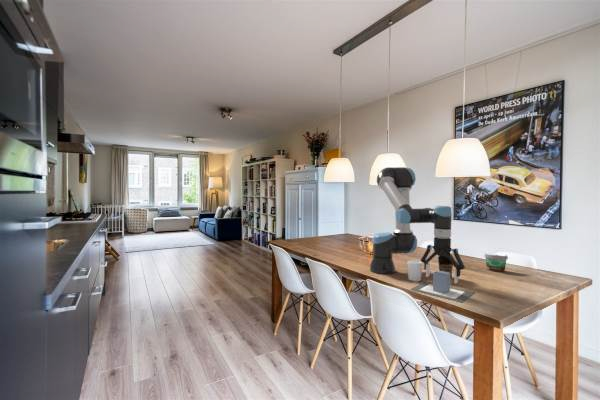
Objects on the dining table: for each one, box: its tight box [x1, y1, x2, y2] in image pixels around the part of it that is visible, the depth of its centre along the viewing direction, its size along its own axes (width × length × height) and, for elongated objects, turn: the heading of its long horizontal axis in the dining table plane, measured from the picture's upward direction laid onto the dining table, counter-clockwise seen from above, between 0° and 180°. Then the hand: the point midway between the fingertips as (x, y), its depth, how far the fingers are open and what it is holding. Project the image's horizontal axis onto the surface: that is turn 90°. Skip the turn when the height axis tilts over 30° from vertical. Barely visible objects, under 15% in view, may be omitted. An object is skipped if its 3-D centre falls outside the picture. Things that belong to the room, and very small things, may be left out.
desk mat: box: [410, 281, 475, 304], centre depth 145 cm, size 24×18×1 cm
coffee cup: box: [437, 255, 455, 280], centre depth 167 cm, size 9×8×13 cm
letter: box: [420, 284, 464, 299], centre depth 145 cm, size 17×13×1 cm
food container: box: [483, 253, 509, 273], centre depth 179 cm, size 12×6×10 cm, turn 68°
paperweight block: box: [432, 270, 451, 294], centre depth 144 cm, size 6×6×9 cm
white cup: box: [406, 259, 423, 282], centre depth 164 cm, size 8×8×10 cm
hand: (441, 279), depth 145 cm, fingers open, 13 cm apart
